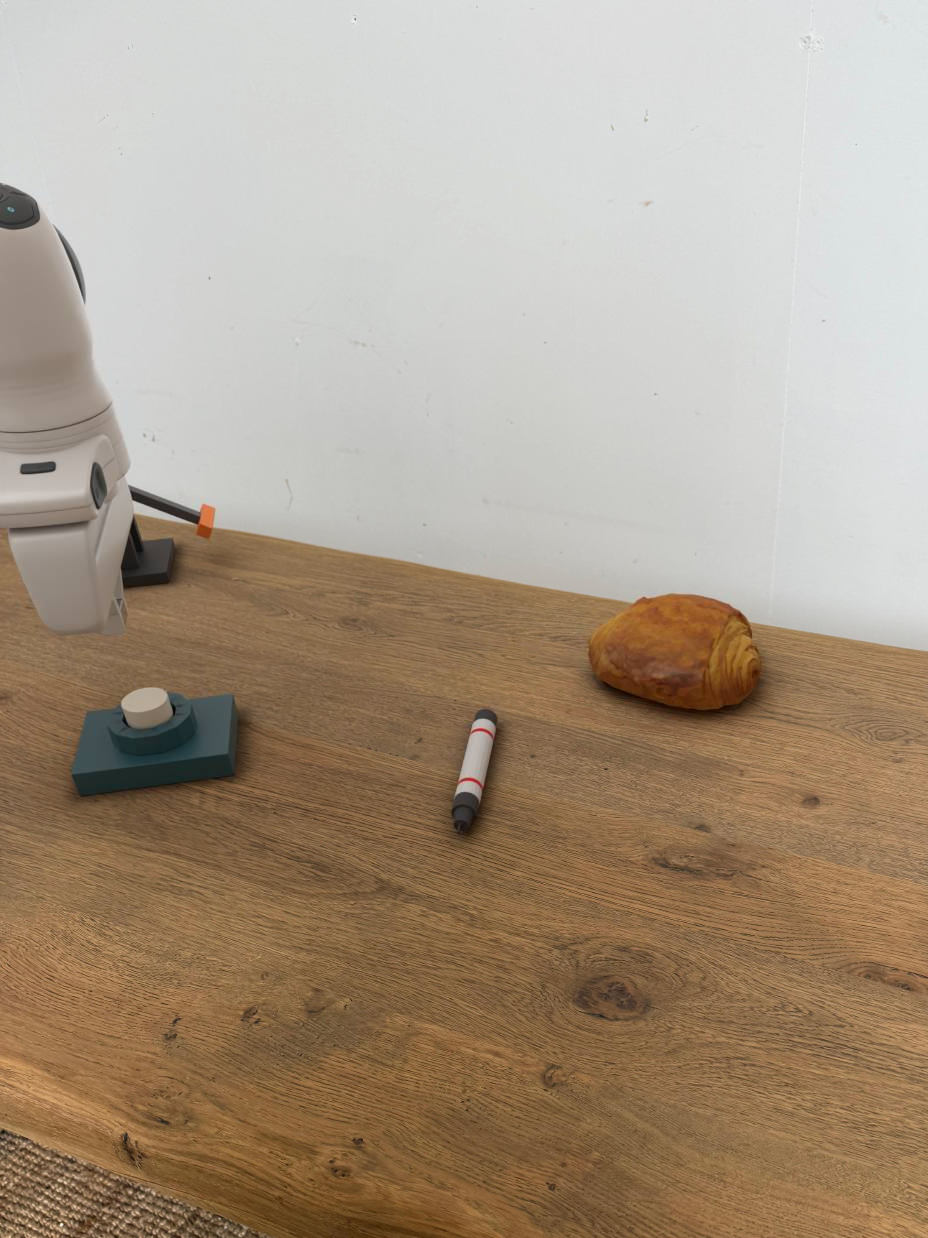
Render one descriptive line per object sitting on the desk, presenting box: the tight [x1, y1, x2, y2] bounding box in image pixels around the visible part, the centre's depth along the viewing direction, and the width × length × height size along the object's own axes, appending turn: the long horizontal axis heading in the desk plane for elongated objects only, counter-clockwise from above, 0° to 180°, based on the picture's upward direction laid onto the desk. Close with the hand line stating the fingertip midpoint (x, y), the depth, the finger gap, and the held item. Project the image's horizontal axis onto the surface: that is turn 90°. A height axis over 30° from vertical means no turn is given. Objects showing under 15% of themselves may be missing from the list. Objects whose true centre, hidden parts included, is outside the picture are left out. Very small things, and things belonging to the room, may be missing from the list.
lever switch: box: [128, 484, 216, 540], centre depth 119 cm, size 13×5×2 cm
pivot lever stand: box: [121, 515, 176, 588], centre depth 119 cm, size 10×8×12 cm
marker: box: [451, 708, 498, 836], centre depth 94 cm, size 15×2×2 cm, turn 178°
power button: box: [120, 686, 173, 729], centre depth 95 cm, size 4×4×2 cm
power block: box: [70, 691, 240, 797], centre depth 97 cm, size 12×9×4 cm
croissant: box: [587, 592, 762, 711], centre depth 104 cm, size 14×16×8 cm
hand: (115, 626), depth 90 cm, fingers closed
